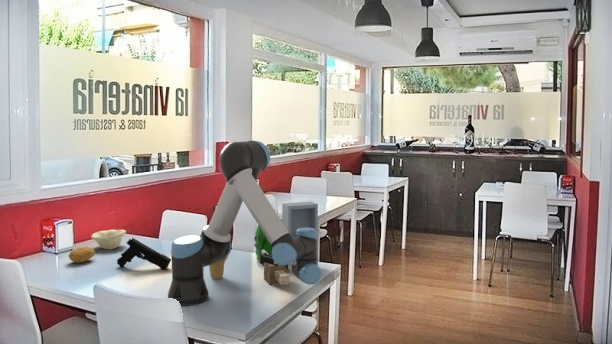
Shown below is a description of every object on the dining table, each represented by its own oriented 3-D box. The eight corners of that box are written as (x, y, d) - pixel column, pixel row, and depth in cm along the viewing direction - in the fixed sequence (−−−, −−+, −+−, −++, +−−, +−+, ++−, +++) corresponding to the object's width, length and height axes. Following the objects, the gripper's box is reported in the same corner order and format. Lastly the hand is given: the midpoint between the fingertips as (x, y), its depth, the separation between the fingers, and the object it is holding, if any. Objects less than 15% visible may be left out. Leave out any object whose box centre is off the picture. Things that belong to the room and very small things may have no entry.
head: (263, 256, 272) (262, 212, 270) (299, 259, 266) (298, 214, 264) (245, 266, 254) (245, 219, 251) (283, 270, 247) (283, 222, 245)
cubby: (317, 269, 248) (317, 204, 245) (288, 273, 242) (288, 206, 239) (311, 265, 255) (311, 201, 252) (282, 268, 250) (282, 203, 247)
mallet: (263, 279, 233) (263, 261, 232) (281, 277, 236) (281, 259, 235) (275, 291, 218) (275, 271, 217) (294, 288, 221) (294, 269, 220)
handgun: (154, 289, 249) (168, 261, 246) (112, 264, 251) (125, 236, 248) (158, 286, 253) (172, 258, 251) (117, 262, 256) (130, 234, 253)
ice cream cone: (201, 275, 239) (200, 230, 237) (226, 273, 243) (225, 228, 241) (206, 282, 229) (205, 235, 227) (232, 280, 233) (231, 233, 231)
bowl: (118, 258, 285) (96, 244, 276) (104, 249, 298) (83, 235, 289) (134, 235, 289) (113, 221, 280) (119, 227, 302) (99, 214, 293)
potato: (64, 263, 259) (63, 249, 258) (86, 257, 270) (85, 243, 269) (78, 266, 254) (77, 251, 254) (99, 259, 266) (99, 245, 265)
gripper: (265, 277, 202) (249, 263, 222) (326, 270, 212) (306, 257, 231) (265, 258, 202) (249, 245, 221) (327, 251, 211) (306, 240, 231)
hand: (278, 251), depth 226 cm, fingers open, 13 cm apart
